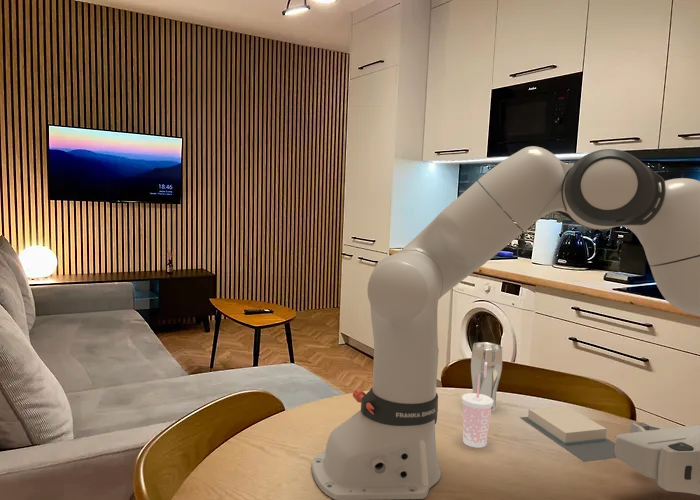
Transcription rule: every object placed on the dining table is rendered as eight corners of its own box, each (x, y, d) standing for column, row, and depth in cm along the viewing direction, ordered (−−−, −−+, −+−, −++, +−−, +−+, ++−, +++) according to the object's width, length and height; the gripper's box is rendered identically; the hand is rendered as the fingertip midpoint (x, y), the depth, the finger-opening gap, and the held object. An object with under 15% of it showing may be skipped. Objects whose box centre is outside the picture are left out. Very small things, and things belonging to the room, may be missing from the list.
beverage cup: (466, 450, 100) (471, 379, 98) (454, 436, 106) (458, 369, 104) (495, 448, 101) (501, 379, 100) (481, 434, 107) (486, 368, 106)
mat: (583, 463, 96) (583, 461, 96) (519, 419, 116) (519, 417, 115) (634, 457, 100) (635, 455, 100) (564, 415, 119) (564, 413, 119)
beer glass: (502, 415, 117) (507, 350, 116) (471, 413, 117) (476, 349, 116) (494, 403, 124) (498, 342, 123) (465, 402, 124) (469, 341, 123)
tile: (565, 433, 103) (528, 409, 114) (564, 445, 103) (527, 420, 114) (606, 428, 106) (566, 405, 117) (605, 440, 106) (565, 416, 117)
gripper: (761, 438, 82) (682, 405, 95) (661, 452, 76) (592, 414, 89) (757, 476, 83) (679, 437, 96) (657, 492, 77) (589, 449, 90)
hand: (636, 426), depth 93 cm, fingers closed
